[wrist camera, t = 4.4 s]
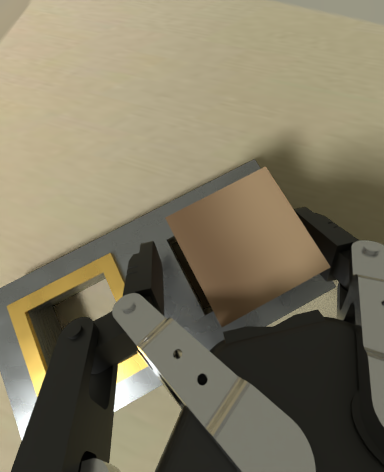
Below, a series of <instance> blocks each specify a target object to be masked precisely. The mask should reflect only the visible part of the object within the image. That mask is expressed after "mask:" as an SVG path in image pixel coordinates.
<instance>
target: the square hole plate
mask: <svg viewBox="0 0 384 472" xmlns="http://www.w3.org/2000/svg"><path fill="white" fill-rule="evenodd" d="M259 169H261V168H260V167H259V165H258V164H257V162H256V160H255V159H254V160H252V161H250V162H248V163H246V164H244V165H242V166H240V167H238V168H236V169H234V170H232V171H230V172H228V173H226V174H224V175H222V176H220V177H218V178H216V179H214V180H212V181H210V182H208V183H206V184H205V185H203V186H201V187H199V188H197V189H195V190H193V191H191V192H189V193H187V194H185V195H183V196H181V197H179V198H177V199H175V200H173V201H171V202H169V203H167V204H165V205H163V206H161V207H159V208H157V209H155V210H153V211H151V212H149V213H147V214H145V215H143V216H141V217H139V218H137V219H135V220H134V221H132V222H130V223H128V224H126V225H124V226H122V227H120V228H118V229H116V230H114V231H112V232H110V233H108V234H106V235H104V236H102V237H100V238H98V239H96V240H94V241H92V242H90V243H88V244H86V245H84V246H82V247H80V248H78V249H76V250H74V251H72V252H70V253H68V254H66V255H65V256H63V257H61V258H59V259H57V260H55V261H53V262H51V263H49V264H47V265H45V266H43V267H41V268H39V269H37V270H35V271H33V272H31V273H29V274H27V275H25V276H23V277H21V278H19V279H17V280H15V281H13V282H11V283H9V284H7V285H5V286H3V287H1V288H0V372H1V375H2V378H3V381H4V384H5V388H6V391H7V394H8V397H9V400H10V404H11V407H12V410H13V413H14V416H15V420H16V423H17V426H18V429H19V432H20V435H21V439H23V436H24V433H25V430H26V428H27V425H28V422H29V419H30V416H31V413H32V411H33V408H34V405H35V402H36V399H37V397H38V394H39V391H40V388H41V385H42V383H43V380H44V377H45V374H46V371H47V368H48V366H49V363H50V360H51V357H52V354H53V352H54V349H55V346H56V343H57V340H58V338H59V335H60V333H61V332H62V330H61V327H60V324H59V322H58V319H57V317H56V314H55V311H54V309H53V306H54V305H55V304H57V303H59V302H61V301H63V300H65V299H67V298H69V297H71V296H73V295H75V294H77V293H79V292H80V291H82V290H84V289H86V288H88V287H90V286H92V285H94V284H96V283H98V282H100V281H102V280H104V279H105V278H106V280H107V282H108V284H109V286H110V289H111V291H112V293H113V296H114V298H115V300H116V302H117V301H118V300H119V299H120V298H121V297H122V296H123V290H124V285H125V279H126V275H127V269H128V262H129V260H130V258H131V257H132V256H133V254H137V253H139V251H140V244H141V243H146V242H150V241H154V242H155V245H156V248H157V251H158V253H159V256H160V259H161V262H162V267H163V286H164V317H165V318H167V319H168V318H172V319H174V320H175V321H176V322H177V323H178V324H179V325H180V326H182V327H183V328H184V329H185V330H186V331H187V332H188V333H189V334H191V335H192V336H193V337H194V338H195V339H196V340H197V341H199V342H200V343H201V344H202V345H203V346H204V347H205V348H206V349H208V350H209V351H210V350H211V349H212V348H213V347H214V346H215V345H216V344H217V343H219V342H220V341H222V340H224V336H223V332H224V331H229V330H233V329H237V328H242V327H246V326H254V327H266V326H267V325H269V324H271V323H273V322H274V321H276V320H278V319H280V318H282V317H283V316H285V315H287V314H289V313H290V312H292V311H294V310H296V309H298V308H299V307H301V306H303V305H305V304H306V303H308V302H310V301H312V300H314V299H315V298H317V297H319V296H321V295H322V294H324V293H326V292H328V291H329V290H331V289H333V288H335V287H336V286H335V284H334V283H333V281H328V282H326V281H325V279H324V278H323V277H322V276H321V275H320V274H318V275H316V276H314V277H312V278H310V279H309V280H307V281H305V282H303V283H301V284H300V285H298V286H296V287H294V288H292V289H291V290H289V291H287V292H285V293H283V294H282V295H280V296H278V297H276V298H274V299H273V300H271V301H269V302H267V303H265V304H264V305H262V306H260V307H258V308H256V309H255V310H253V311H251V312H249V313H247V314H246V315H244V316H242V317H240V318H238V319H237V320H235V321H233V322H231V323H229V324H228V325H226V326H224V327H221V325H220V323H219V321H218V319H217V317H216V315H215V313H214V311H213V310H212V308H211V306H209V307H207V308H206V309H203V307H202V305H201V303H200V301H199V299H198V297H197V295H196V293H195V291H194V289H193V287H192V285H191V283H190V281H189V279H188V277H187V275H186V273H185V271H184V269H183V267H182V265H181V263H180V261H179V260H178V258H177V256H176V254H175V252H174V250H173V248H172V246H171V244H173V243H175V242H177V240H176V238H175V236H174V234H173V232H172V230H171V228H170V226H169V224H168V222H167V221H166V219H165V218H166V217H167V216H169V215H171V214H173V213H175V212H177V211H179V210H181V209H183V208H185V207H187V206H189V205H191V204H193V203H195V202H197V201H199V200H201V199H203V198H205V197H207V196H209V195H211V194H212V193H214V192H216V191H218V190H220V189H222V188H224V187H226V186H228V185H230V184H232V183H234V182H236V181H238V180H240V179H242V178H244V177H246V176H248V175H250V174H252V173H254V172H256V171H257V170H259ZM161 385H162V383H161V381H160V380H159V379H158V377H157V376H156V375H155V373H154V372H153V371H152V370H151V368H150V367H149V366H148V365H147V363H146V362H145V361H144V360H143V358H142V357H141V356H140V354H139V353H138V352H137V351H136V352H135V353H133V354H131V355H130V356H128V357H126V358H125V359H123V360H121V361H120V362H118V373H117V383H116V394H115V405H114V411H116V410H118V409H120V408H122V407H123V406H125V405H127V404H129V403H130V402H132V401H134V400H136V399H138V398H139V397H141V396H143V395H145V394H146V393H148V392H150V391H152V390H154V389H155V388H157V387H159V386H161Z"/></svg>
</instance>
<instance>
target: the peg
mask: <svg viewBox="0 0 384 472" xmlns="http://www.w3.org/2000/svg"><path fill="white" fill-rule="evenodd" d="M165 219H166V221H167V222H168V224H169V226H170V228H171V230H172V232H173V234H174V236H175V238H176V240H177V242H178V244H179V246H180V248H181V250H182V251H183V253H184V255H185V257H186V259H187V261H188V263H189V265H190V267H191V269H192V271H193V273H194V275H195V277H196V279H197V280H198V282H199V284H200V286H201V288H202V290H203V292H204V294H205V296H206V298H207V300H208V302H209V304H210V306H211V308H212V310H213V311H214V313H215V315H216V317H217V319H218V321H219V323H220V325H221V327H224V326H226V325H228V324H229V323H231V322H233V321H235V320H237V319H238V318H240V317H242V316H244V315H246V314H247V313H249V312H251V311H253V310H255V309H256V308H258V307H260V306H262V305H264V304H265V303H267V302H269V301H271V300H273V299H274V298H276V297H278V296H280V295H282V294H283V293H285V292H287V291H289V290H291V289H292V288H294V287H296V286H298V285H300V284H301V283H303V282H305V281H307V280H309V279H310V278H312V277H314V276H316V275H318V274H320V273H321V272H323V271H325V270H327V269H329V268H330V265H329V264H328V262H327V261H326V259H325V257H324V256H323V254H322V253H321V251H320V250H319V248H318V247H317V245H316V243H315V242H314V240H313V239H312V237H311V236H310V234H309V233H308V231H307V230H306V228H305V226H304V225H303V223H302V222H301V220H300V219H299V217H298V216H297V214H296V212H295V211H294V209H293V208H292V206H291V205H290V203H289V202H288V200H287V199H286V197H285V195H284V194H283V192H282V191H281V189H280V188H279V186H278V185H277V183H276V181H275V180H274V178H273V177H272V175H271V174H270V172H269V171H268V169H267V168H266V166H265V167H263V168H261V169H259V170H257V171H256V172H254V173H252V174H250V175H248V176H246V177H244V178H242V179H240V180H238V181H236V182H234V183H232V184H230V185H228V186H226V187H224V188H222V189H220V190H218V191H216V192H214V193H212V194H211V195H209V196H207V197H205V198H203V199H201V200H199V201H197V202H195V203H193V204H191V205H189V206H187V207H185V208H183V209H181V210H179V211H177V212H175V213H173V214H171V215H169V216H167V217H166V218H165Z"/></svg>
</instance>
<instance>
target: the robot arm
mask: <svg viewBox="0 0 384 472" xmlns="http://www.w3.org/2000/svg"><path fill="white" fill-rule="evenodd" d="M294 211H295V212H296V214H297V216H298V217H299V219H300V220H301V222H302V223H303V225H304V226H305V228H306V230H307V231H308V233H309V234H310V236H311V237H312V239H313V240H314V242H315V243H316V245H317V247H318V248H319V250H320V251H321V253H322V254H323V256H324V257H325V259H326V261H327V262H328V264H329V265H330V268H329V269H327V270H325V271H323V272H321V273H320V275H321V276H322V277H323V278H324V279H325V281H326V282H328V281H333V280H338V281H339V284H338V290H337V319H335V318H329V317H323V316H322V314H321V313H320V312H319V310H314V311H310V312H306V313H301V314H297V315H294V316H292V317H290V318H288V319H287V320H285V321H283V322H281V323H280V324H278V325H276V326H273V327H254V326H246V327H242V328H237V329H233V330H229V331H224V332H223V336H224V340H222V341H220V342H219V343H217V344H216V345H215V346H214V347H213V348H212V349H211V350H210V351H209V350H208V349H206V348H205V347H204V346H203V345H202V344H201V343H200V342H199V341H197V340H196V339H195V338H194V337H193V336H192V335H191V334H189V333H188V332H187V331H186V330H185V329H184V328H183V327H182V326H180V325H179V324H178V323H177V322H176V321H175V320H174V319H172V318H168V319H167V318H165V317H164V286H163V267H162V262H161V259H160V256H159V253H158V251H157V248H156V245H155V242H154V241H150V242H146V243H141V244H140V251H139V253H137V254H133V256H132V257H131V258H130V260H129V262H128V269H127V275H126V279H125V285H124V290H123V296H122V297H121V298H120V299H119V300H118V301H117V302H116V303H115V305H114V307H113V310H112V311H111V312H110V313H108V314H107V315H105V316H103V317H101V318H99V319H97V320H95V321H92V320H91V319H90V318H88V317H81V318H78V319H75V320H74V321H72V322H71V323H69V324H68V325H67V326H66V327H65V328H64V329H63V330H62V332H61V333H60V335H59V338H58V340H57V343H56V346H55V349H54V352H53V354H52V357H51V360H50V363H49V366H48V368H47V371H46V374H45V377H44V380H43V383H42V385H41V388H40V391H39V394H38V397H37V399H36V402H35V405H34V408H33V411H32V413H31V416H30V419H29V422H28V425H27V428H26V430H25V433H24V436H23V439H22V442H21V444H20V447H19V450H18V453H17V456H16V458H15V461H14V464H13V467H12V470H11V472H120V470H119V469H118V468H117V467H115V466H114V465H111V464H109V459H110V448H111V437H112V427H113V416H114V405H115V394H116V383H117V373H118V362H120V361H121V360H123V359H125V358H126V357H128V356H130V355H131V354H133V353H135V352H136V351H137V352H138V353H139V354H140V356H141V357H142V358H143V360H144V361H145V362H146V363H147V365H148V366H149V367H150V368H151V370H152V371H153V372H154V373H155V375H156V376H157V377H158V379H159V380H160V381H161V383H162V384H163V385H164V387H165V388H166V389H167V391H168V392H169V393H170V395H171V396H172V397H173V399H174V400H175V401H176V402H177V404H178V405H179V406H180V407H181V409H182V410H181V412H180V415H179V417H178V419H177V422H176V424H175V426H174V428H173V431H172V433H171V435H170V438H169V440H168V442H167V445H166V447H165V449H164V452H163V454H162V456H161V459H160V461H159V463H158V466H157V468H156V470H155V472H384V245H382V244H380V243H377V242H373V241H367V240H362V241H359V240H358V239H356V238H355V237H353V236H352V235H351V234H349V233H348V232H346V231H345V230H344V229H342V228H341V227H338V225H337V224H335V223H333V222H332V221H331V220H330V219H328V218H327V217H325V216H322V215H320V214H317V213H313V212H312V211H311V210H309V209H308V208H306V207H302V208H297V209H294Z"/></svg>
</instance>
